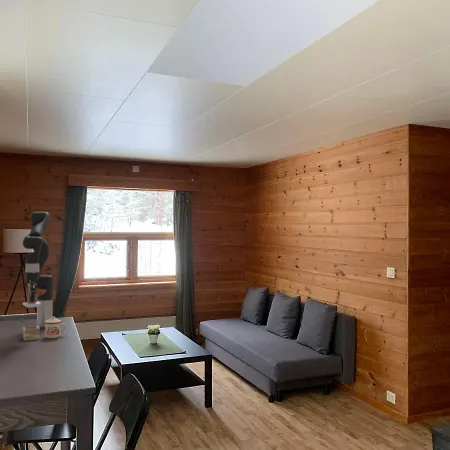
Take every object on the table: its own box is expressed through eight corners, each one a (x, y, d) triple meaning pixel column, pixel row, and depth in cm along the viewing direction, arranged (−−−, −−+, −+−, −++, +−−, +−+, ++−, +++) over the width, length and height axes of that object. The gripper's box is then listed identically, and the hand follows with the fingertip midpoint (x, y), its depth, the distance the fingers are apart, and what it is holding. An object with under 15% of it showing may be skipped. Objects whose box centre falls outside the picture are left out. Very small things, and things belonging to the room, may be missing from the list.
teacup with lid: (44, 338, 268) (44, 318, 268) (44, 335, 277) (44, 315, 277) (66, 337, 273) (66, 317, 273) (65, 334, 281) (66, 314, 281)
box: (22, 337, 271) (22, 327, 271) (37, 336, 275) (37, 325, 275) (24, 340, 264) (24, 329, 264) (39, 338, 268) (39, 328, 268)
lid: (22, 306, 270) (22, 293, 270) (38, 305, 274) (38, 293, 274) (24, 307, 262) (24, 295, 263) (40, 306, 267) (41, 294, 267)
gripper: (23, 270, 273) (23, 300, 273) (27, 272, 261) (26, 303, 260) (37, 270, 277) (36, 299, 276) (41, 271, 265) (40, 302, 264)
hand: (31, 301), depth 268 cm, fingers closed on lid, 4 cm apart
